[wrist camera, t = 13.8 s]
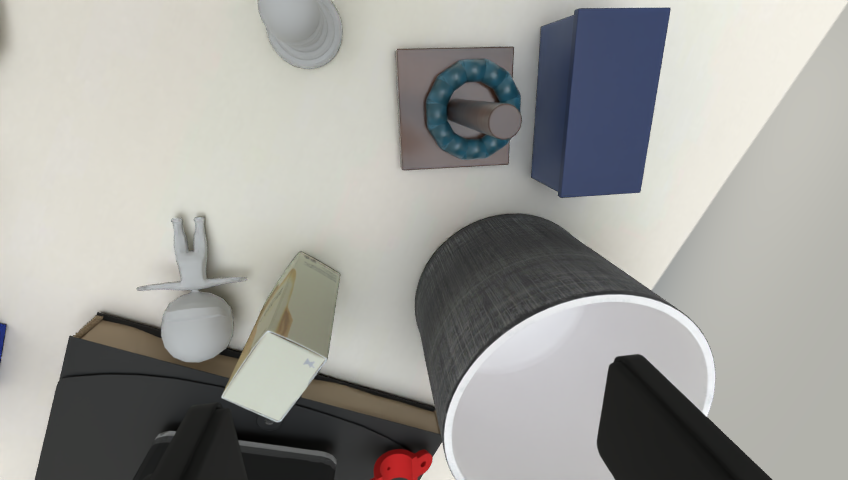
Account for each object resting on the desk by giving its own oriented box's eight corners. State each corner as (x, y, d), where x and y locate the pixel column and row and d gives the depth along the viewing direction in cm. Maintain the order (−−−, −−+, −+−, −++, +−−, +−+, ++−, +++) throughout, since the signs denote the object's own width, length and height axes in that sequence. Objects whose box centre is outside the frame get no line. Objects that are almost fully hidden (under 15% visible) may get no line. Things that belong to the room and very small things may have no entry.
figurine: (240, 215, 32) (251, 362, 33) (244, 216, 37) (254, 344, 38) (119, 220, 29) (134, 381, 30) (141, 220, 34) (154, 358, 35)
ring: (422, 62, 30) (425, 61, 29) (517, 57, 31) (525, 55, 30) (427, 161, 33) (430, 164, 31) (515, 154, 34) (522, 157, 32)
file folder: (447, 437, 39) (353, 590, 46) (440, 406, 43) (354, 551, 50) (66, 337, 31) (17, 543, 37) (99, 308, 34) (50, 501, 41)
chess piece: (321, -26, 28) (303, -74, 20) (355, 51, 30) (351, 37, 22) (252, 5, 29) (206, -30, 20) (290, 80, 31) (262, 77, 22)
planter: (543, 175, 36) (665, 233, 21) (614, 315, 42) (745, 433, 28) (377, 281, 37) (385, 404, 23) (471, 400, 44) (523, 556, 29)
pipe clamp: (432, 470, 40) (419, 456, 41) (432, 447, 39) (419, 433, 41) (360, 516, 35) (348, 498, 37) (358, 490, 34) (346, 474, 36)
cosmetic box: (299, 248, 35) (268, 324, 24) (342, 273, 37) (332, 356, 25) (262, 303, 37) (216, 400, 25) (305, 325, 38) (279, 426, 27)
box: (538, 23, 32) (578, 8, 26) (614, 22, 32) (671, 7, 26) (528, 180, 36) (560, 198, 30) (596, 176, 37) (640, 192, 31)
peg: (395, 50, 31) (414, 24, 19) (509, 48, 32) (598, 22, 20) (401, 167, 34) (421, 212, 22) (504, 162, 35) (578, 201, 23)
